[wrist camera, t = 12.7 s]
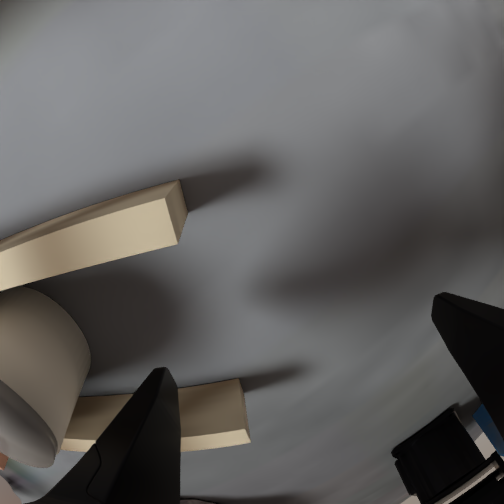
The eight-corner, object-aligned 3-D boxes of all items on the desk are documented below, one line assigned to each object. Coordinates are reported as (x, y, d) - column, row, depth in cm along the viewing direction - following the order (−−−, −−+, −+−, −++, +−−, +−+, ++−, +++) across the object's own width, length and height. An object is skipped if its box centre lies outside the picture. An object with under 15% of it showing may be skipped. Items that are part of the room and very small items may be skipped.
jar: (113, 350, 12) (80, 454, 7) (62, 397, 13) (33, 476, 8) (16, 260, 10) (-63, 335, 5) (-16, 328, 11) (-66, 395, 6)
